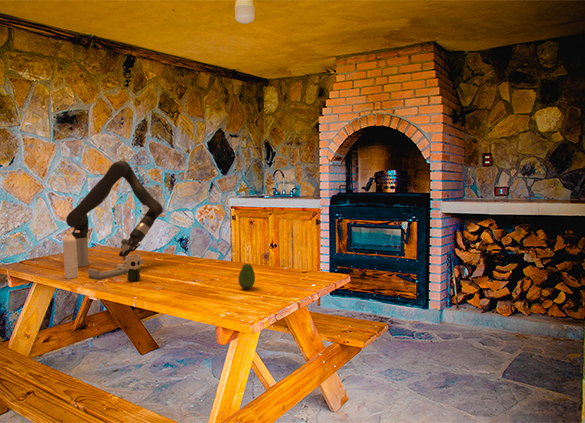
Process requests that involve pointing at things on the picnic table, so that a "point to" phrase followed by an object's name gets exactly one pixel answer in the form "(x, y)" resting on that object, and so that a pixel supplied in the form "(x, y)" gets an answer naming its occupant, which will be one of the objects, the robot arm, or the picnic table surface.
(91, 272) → the rail board
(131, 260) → the toy figurine
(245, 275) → the fruit
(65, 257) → the water bottle
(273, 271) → the picnic table surface
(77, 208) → the robot arm
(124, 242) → the carriage
